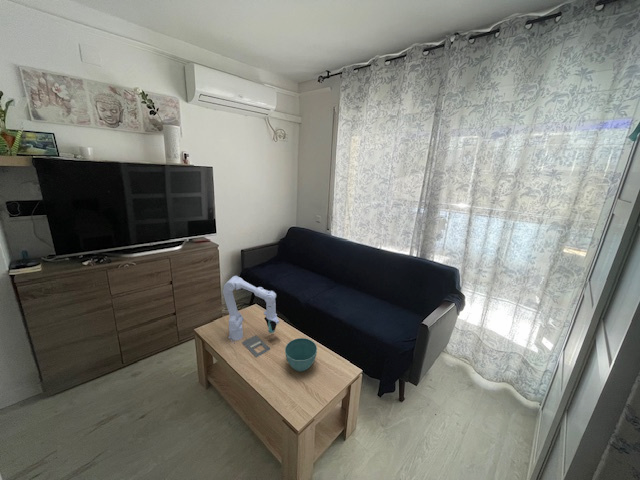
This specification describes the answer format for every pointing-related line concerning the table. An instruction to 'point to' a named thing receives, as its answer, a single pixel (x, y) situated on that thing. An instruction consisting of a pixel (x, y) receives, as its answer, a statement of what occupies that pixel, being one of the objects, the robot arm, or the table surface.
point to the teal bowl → (301, 353)
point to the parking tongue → (272, 339)
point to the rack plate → (255, 345)
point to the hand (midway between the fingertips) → (271, 328)
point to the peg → (270, 327)
